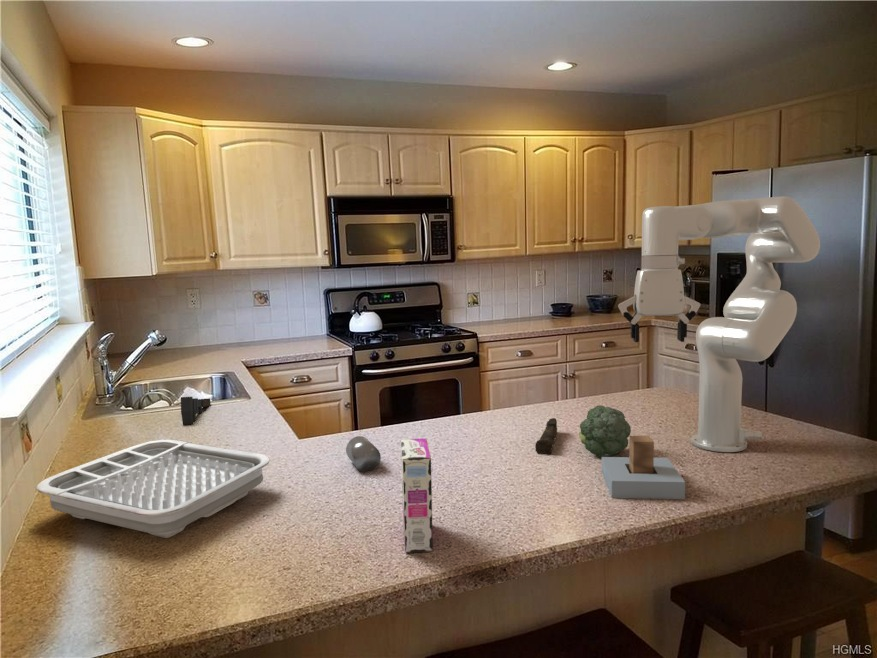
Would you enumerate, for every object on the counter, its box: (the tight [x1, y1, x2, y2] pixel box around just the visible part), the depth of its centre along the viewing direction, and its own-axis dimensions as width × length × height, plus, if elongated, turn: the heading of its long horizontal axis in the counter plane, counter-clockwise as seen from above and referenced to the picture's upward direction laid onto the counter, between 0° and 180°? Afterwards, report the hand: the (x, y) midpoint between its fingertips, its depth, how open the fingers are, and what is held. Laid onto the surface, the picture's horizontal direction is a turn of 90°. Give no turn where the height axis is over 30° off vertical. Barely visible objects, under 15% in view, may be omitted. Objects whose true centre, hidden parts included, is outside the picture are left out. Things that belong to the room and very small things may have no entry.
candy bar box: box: [400, 438, 434, 554], centre depth 106 cm, size 11×5×16 cm, turn 5°
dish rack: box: [36, 439, 271, 539], centre depth 125 cm, size 32×37×8 cm
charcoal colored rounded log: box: [534, 417, 558, 455], centre depth 156 cm, size 19×4×5 cm, turn 159°
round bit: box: [345, 435, 382, 473], centre depth 143 cm, size 6×6×8 cm
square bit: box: [628, 435, 655, 474], centre depth 127 cm, size 4×4×10 cm
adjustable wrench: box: [180, 396, 212, 426], centre depth 195 cm, size 8×3×25 cm
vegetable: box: [579, 405, 632, 459], centre depth 148 cm, size 12×13×15 cm
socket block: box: [601, 456, 686, 500], centre depth 127 cm, size 14×14×4 cm
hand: (658, 341), depth 136 cm, fingers open, 9 cm apart
